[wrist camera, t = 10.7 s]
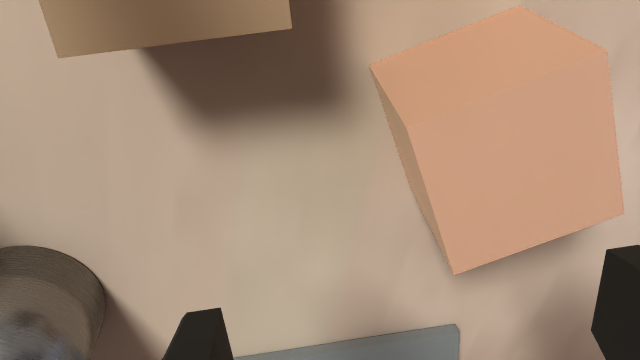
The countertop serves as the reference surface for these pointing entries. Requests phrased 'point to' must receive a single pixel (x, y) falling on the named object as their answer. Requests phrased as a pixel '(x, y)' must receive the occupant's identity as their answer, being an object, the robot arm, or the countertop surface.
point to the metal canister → (47, 306)
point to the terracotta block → (504, 134)
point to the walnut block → (155, 22)
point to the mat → (379, 347)
